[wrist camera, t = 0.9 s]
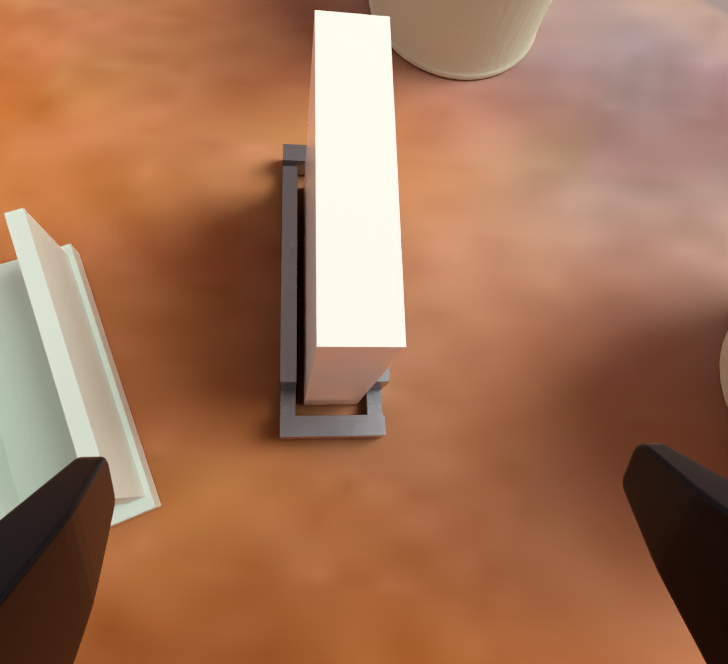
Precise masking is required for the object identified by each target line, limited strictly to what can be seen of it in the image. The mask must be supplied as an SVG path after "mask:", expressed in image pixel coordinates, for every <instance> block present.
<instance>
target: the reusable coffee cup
mask: <svg viewBox="0 0 728 664" xmlns="http://www.w3.org/2000/svg"><path fill="white" fill-rule="evenodd" d="M719 367H720V382H721V386H722V391H723V395H724V399H725V402H726V404H727V407H728V330H727V333H726V336H725V338H724V341H723V344H722V347H721V354H720V361H719Z"/></svg>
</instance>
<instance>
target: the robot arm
mask: <svg viewBox="0 0 728 664" xmlns="http://www.w3.org/2000/svg"><path fill="white" fill-rule="evenodd" d="M623 488H624V491H625V494H626V497H627V499H628V501H629V504H630V506H631V509H632V511H633V514H634V516H635V518H636V521H637V523H638V526H639V528H640V530H641V533H642V535H643V538H644V540H645V543H646V545H647V547H648V550H649V552H650V555H651V557H652V559H653V562H654V564H655V566H656V568H657V570H658V572H659V574H660V576H661V578H662V580H663V582H664V584H665V586H666V588H667V590H668V592H669V594H670V596H671V598H672V599H673V601H674V603H675V605H676V607H677V609H678V611H679V613H680V615H681V616H682V618H683V620H684V622H685V624H686V626H687V628H688V630H689V632H690V633H691V635H692V637H693V639H694V641H695V643H696V645H697V647H698V648H699V650H700V652H701V654H702V656H703V658H704V660H705V662H706V664H728V480H727V479H726V478H724V477H722V476H720V475H718V474H717V473H715V472H713V471H711V470H710V469H708V468H706V467H704V466H702V465H701V464H699V463H697V462H695V461H693V460H692V459H690V458H688V457H686V456H685V455H683V454H681V453H679V452H677V451H676V450H674V449H672V448H670V447H668V446H667V445H665V444H662V443H642V444H639V445H638V446H637V447H636V448H635V449H634V452H633V454H632V457H631V459H630V462H629V464H628V467H627V469H626V471H625V474H624V477H623ZM114 506H115V494H114V489H113V484H112V479H111V474H110V469H109V464H108V462H107V460H106V458H104V457H101V456H96V457H78V458H76V459H74V460H73V461H72V462H71V463H69V464H68V465H67V466H66V467H64V468H63V469H62V470H61V471H59V472H58V473H57V474H56V475H55V476H53V477H52V478H51V479H50V480H48V481H47V482H46V483H45V484H43V485H42V486H41V487H40V488H39V489H37V490H36V491H35V492H34V493H32V494H31V495H30V496H29V497H28V498H26V499H25V500H24V501H23V502H21V503H20V504H19V505H18V506H16V507H15V508H14V509H13V510H12V511H10V512H9V513H8V514H7V515H5V516H4V517H3V518H2V519H0V664H74V661H75V658H76V655H77V652H78V649H79V646H80V643H81V640H82V637H83V634H84V631H85V628H86V625H87V622H88V619H89V616H90V613H91V610H92V606H93V603H94V599H95V595H96V590H97V586H98V582H99V577H100V572H101V568H102V563H103V558H104V554H105V549H106V544H107V540H108V535H109V531H110V526H111V521H112V517H113V512H114Z"/></svg>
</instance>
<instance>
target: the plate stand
mask: <svg viewBox="0 0 728 664" xmlns="http://www.w3.org/2000/svg"><path fill="white" fill-rule="evenodd" d="M306 146H307V145H291V144H283V181H282V262H281V343H280V390H281V391H280V439H335V438H381V437H383V436H385V415H382V398H381V389H382V388H383V387H384V386H385V385H386V384H387V383H388V382H389V368H388V369H387V370H386V371H385V372H384V373H383V374H382V376H381V377H380V378H379V379H378V380H377V381H376V383H375V384H374V385H373V386H372V387H371V388H370V389H369V391H368V392H367V393H366V394H365V415H315V416H295V402H296V361H297V175H302V176H305V163H306Z"/></svg>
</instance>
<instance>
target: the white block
mask: <svg viewBox="0 0 728 664" xmlns="http://www.w3.org/2000/svg"><path fill="white" fill-rule="evenodd" d="M405 348H406V334H405V313H404V293H403V273H402V253H401V232H400V212H399V192H398V172H397V151H396V131H395V111H394V91H393V70H392V50H391V30H390V17H389V16H378V15H367V14H355V13H344V12H333V11H321V10H315V14H314V31H313V47H312V64H311V80H310V97H309V113H308V130H307V146H306V163H305V179H304V405H326V404H357V403H358V402H359V401H360V400H361V399H362V398H363V396H364V395H365V394H366V393H367V392H368V391H369V389H370V388H371V387H372V386H373V385H374V384H375V383H376V381H377V380H378V379H379V378H380V377H381V376H382V374H383V373H384V372H385V371H386V370H387V369H388V368H389V366H390V365H391V364H392V363H393V362H394V361H395V359H396V358H397V357H398V356H399V355H400V354H401V353H402V351H403V350H404V349H405Z"/></svg>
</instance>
